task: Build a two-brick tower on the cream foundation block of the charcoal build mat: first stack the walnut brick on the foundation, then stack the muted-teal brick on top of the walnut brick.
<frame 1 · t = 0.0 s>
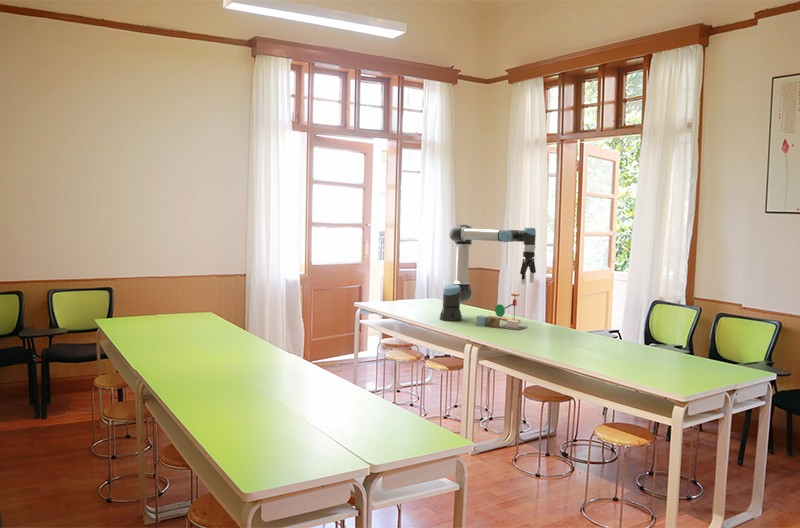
hand: (527, 283, 435), 28 cm above the table, fingers open, 13 cm apart
teal brick: (482, 325, 433), on the table
crank mechanism: (504, 320, 459), on the table
build mat: (512, 327, 428), on the table
walnut brick: (493, 326, 429), on the table
instruction card: (502, 324, 438), on the table
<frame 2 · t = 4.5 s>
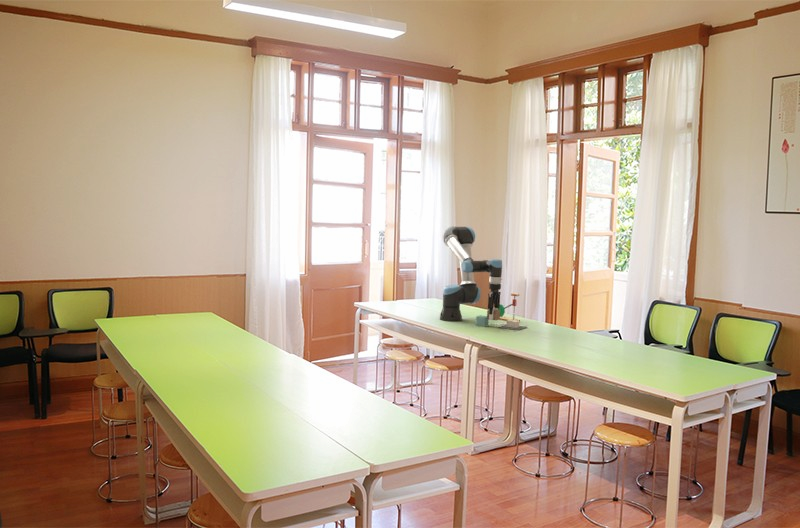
hand: (493, 318, 429), 5 cm above the table, fingers closed on walnut brick, 5 cm apart
walnut brick: (493, 319, 429), point 5 cm above the table, touching gripper
everything else where it was.
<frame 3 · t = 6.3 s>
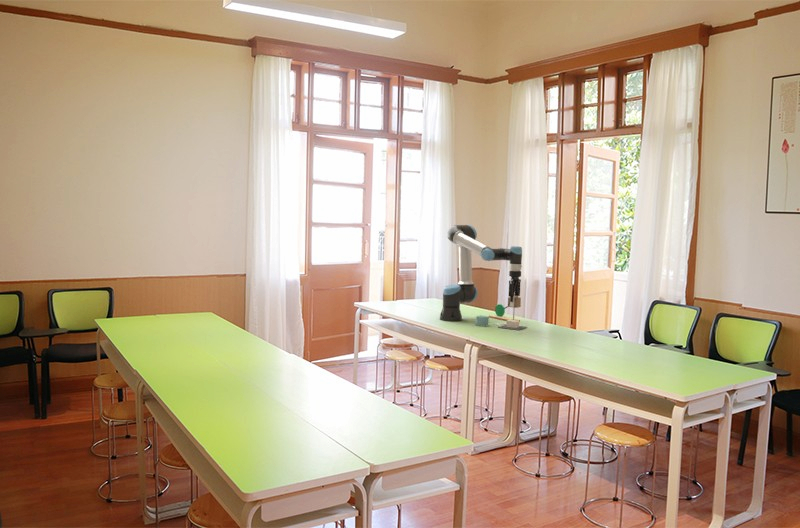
hand: (513, 306, 426), 14 cm above the table, fingers closed on walnut brick, 5 cm apart
walnut brick: (514, 306, 426), point 14 cm above the table, touching gripper
everything else where it was.
when the fingers open (4 cm above the table, at t = 8.4 s): walnut brick stays where it is, resting on build mat.
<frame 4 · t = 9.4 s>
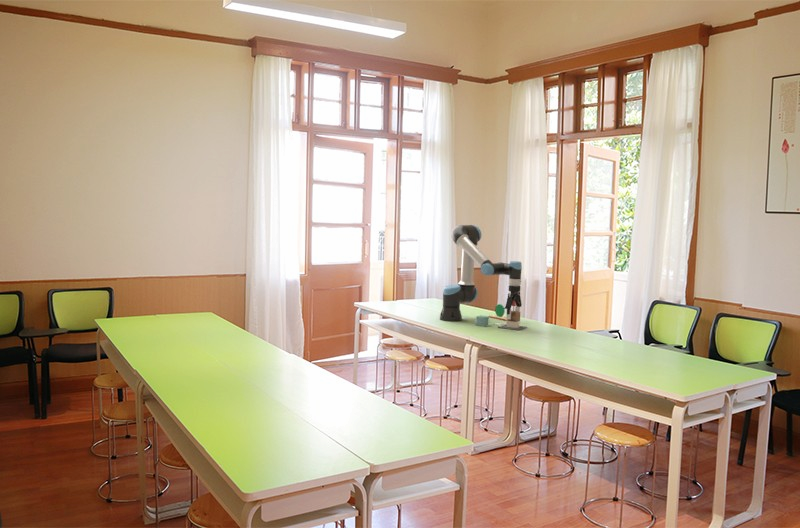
hand: (512, 317, 427), 6 cm above the table, fingers open, 13 cm apart
walnut brick: (513, 320, 427), point 4 cm above the table, touching build mat
everything else where it was.
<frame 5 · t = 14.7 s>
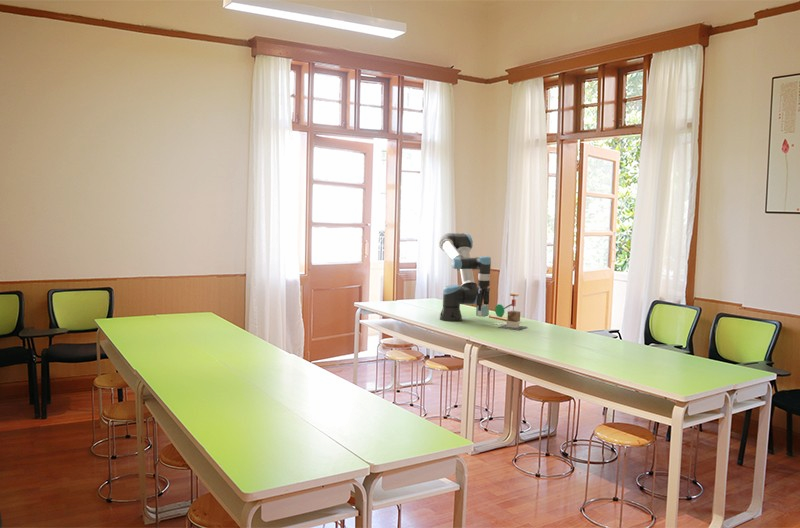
hand: (482, 314, 433), 7 cm above the table, fingers closed on teal brick, 6 cm apart
teal brick: (482, 315, 433), point 6 cm above the table, touching gripper
everything else where it was.
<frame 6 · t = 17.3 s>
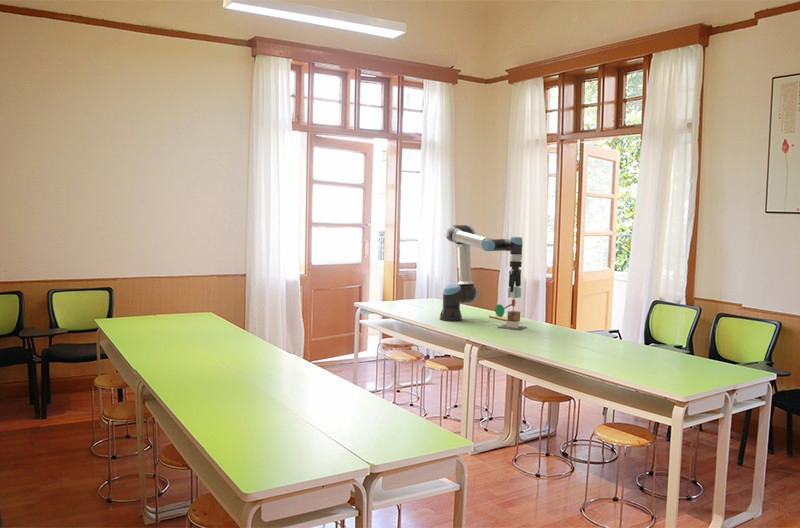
hand: (514, 296, 426), 20 cm above the table, fingers closed on teal brick, 6 cm apart
teal brick: (514, 297, 426), point 20 cm above the table, touching gripper
everything else where it was.
when the fingers open (10 cm above the table, at t = 20.0 s): teal brick stays where it is, resting on walnut brick.
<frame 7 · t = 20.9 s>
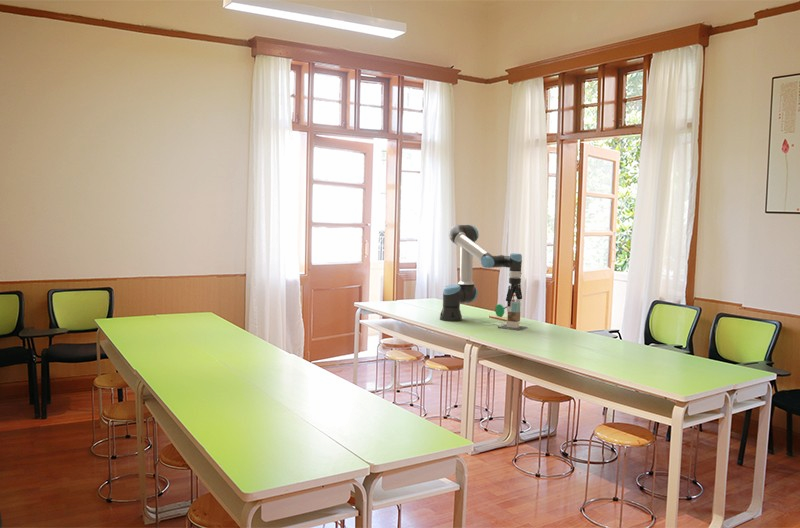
hand: (513, 310, 427), 11 cm above the table, fingers open, 13 cm apart
teal brick: (513, 311, 427), point 10 cm above the table, touching walnut brick
walnut brick: (513, 320, 427), point 4 cm above the table, touching build mat, teal brick
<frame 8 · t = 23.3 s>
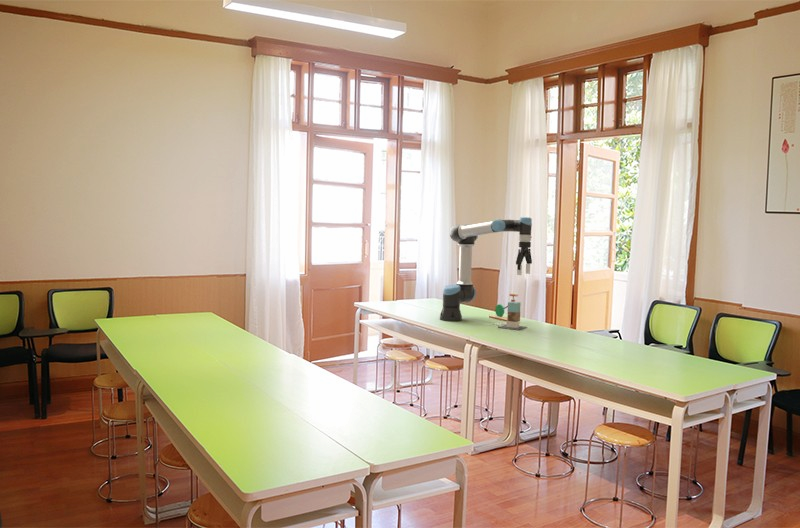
hand: (523, 274, 426), 35 cm above the table, fingers open, 13 cm apart
at the end: walnut brick 0.3 cm off-centre on the build mat, point 4.5 cm above the build mat's base; teal brick 0.1 cm off-centre on the walnut brick, point 6.0 cm above the walnut brick's base; teal brick tilted 0° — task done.
